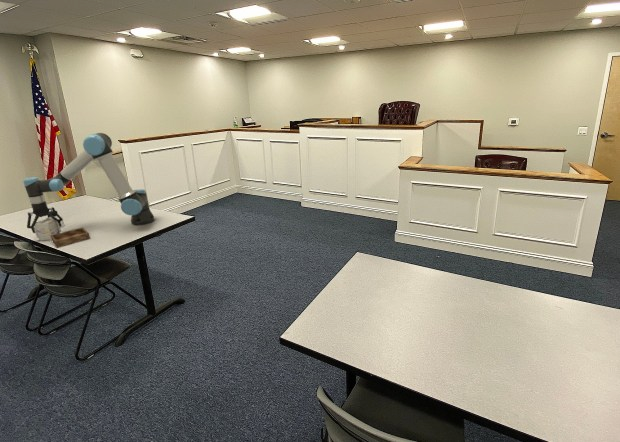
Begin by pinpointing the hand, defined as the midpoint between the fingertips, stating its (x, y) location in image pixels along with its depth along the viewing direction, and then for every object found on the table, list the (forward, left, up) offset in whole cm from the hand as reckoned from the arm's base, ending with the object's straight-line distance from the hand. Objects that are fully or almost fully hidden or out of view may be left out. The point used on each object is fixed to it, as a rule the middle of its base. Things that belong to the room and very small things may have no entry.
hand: (49, 234), depth 225 cm
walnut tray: (-9, +16, -2) cm, 18 cm away
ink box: (0, 0, -2) cm, 2 cm away
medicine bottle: (-7, -21, -3) cm, 22 cm away
